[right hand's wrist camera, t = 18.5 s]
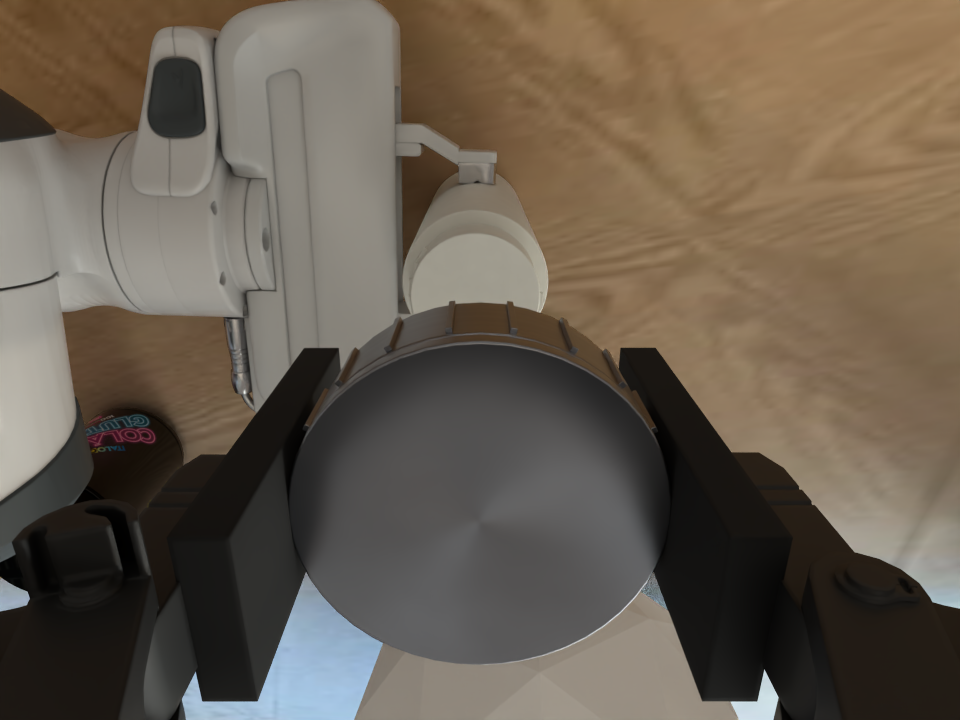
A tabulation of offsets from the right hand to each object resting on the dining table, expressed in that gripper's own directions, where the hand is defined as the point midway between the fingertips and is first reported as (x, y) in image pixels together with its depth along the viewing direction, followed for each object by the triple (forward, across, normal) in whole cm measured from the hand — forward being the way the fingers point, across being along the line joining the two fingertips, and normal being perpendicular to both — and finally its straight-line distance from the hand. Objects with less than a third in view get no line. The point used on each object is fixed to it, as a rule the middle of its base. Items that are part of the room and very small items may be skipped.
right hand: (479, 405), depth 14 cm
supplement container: (+25, +23, +15) cm, 38 cm away
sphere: (+26, -6, +30) cm, 40 cm away
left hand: (+19, -1, 0) cm, 19 cm away
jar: (+25, 0, 0) cm, 25 cm away
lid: (-4, 0, 0) cm, 4 cm away
